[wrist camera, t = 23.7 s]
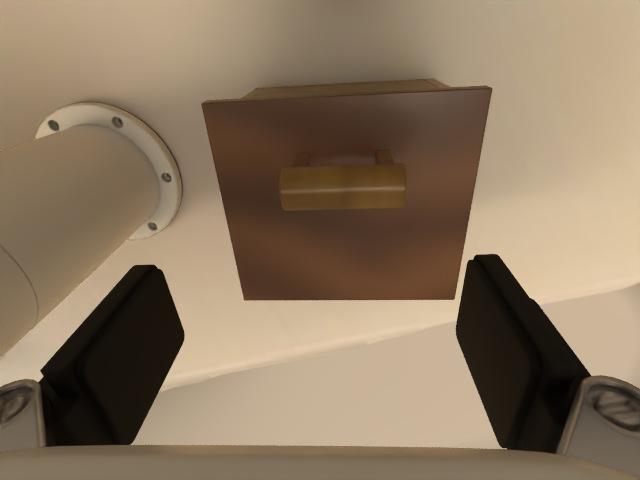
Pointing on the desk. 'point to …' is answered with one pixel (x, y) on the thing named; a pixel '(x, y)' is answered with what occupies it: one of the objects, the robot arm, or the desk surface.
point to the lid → (349, 190)
